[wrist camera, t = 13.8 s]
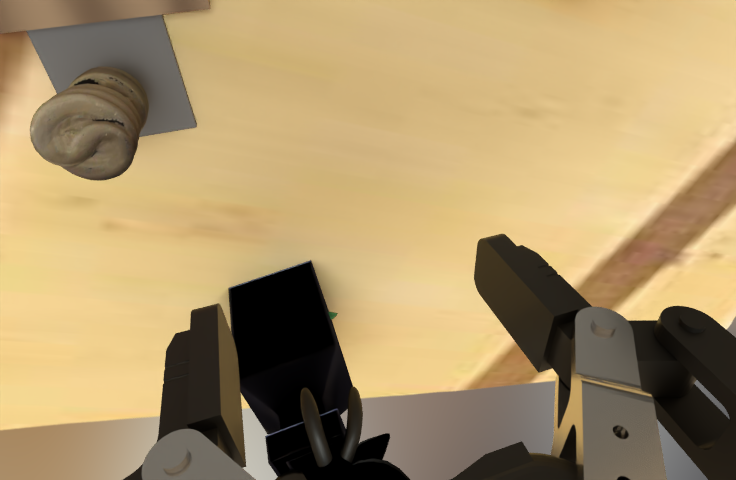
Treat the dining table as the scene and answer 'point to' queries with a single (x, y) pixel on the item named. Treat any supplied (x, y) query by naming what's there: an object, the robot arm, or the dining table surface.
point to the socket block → (84, 11)
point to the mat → (121, 63)
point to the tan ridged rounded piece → (92, 124)
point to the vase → (301, 381)
